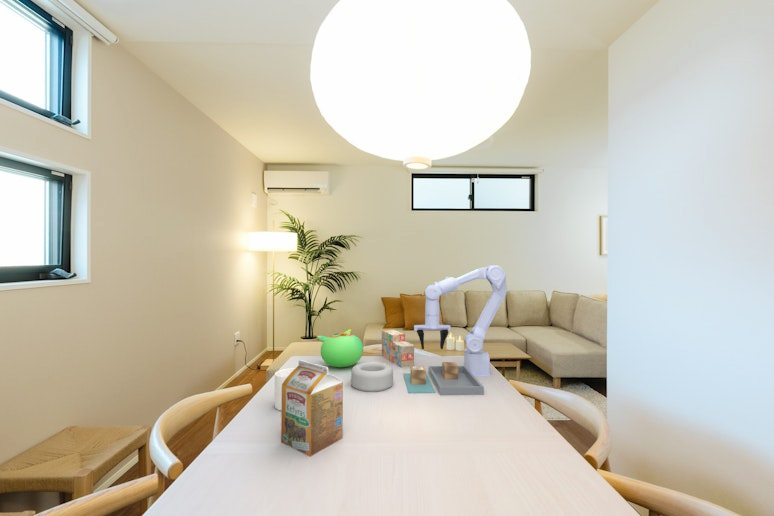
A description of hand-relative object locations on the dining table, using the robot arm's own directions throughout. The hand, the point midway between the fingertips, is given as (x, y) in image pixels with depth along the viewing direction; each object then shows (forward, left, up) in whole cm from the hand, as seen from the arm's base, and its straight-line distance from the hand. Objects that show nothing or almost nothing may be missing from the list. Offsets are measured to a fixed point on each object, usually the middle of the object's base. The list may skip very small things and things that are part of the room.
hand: (432, 348), depth 143 cm
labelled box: (+8, +14, -9) cm, 18 cm away
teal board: (+8, +14, -9) cm, 18 cm away
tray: (-6, +14, -9) cm, 18 cm away
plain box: (-6, +8, -9) cm, 13 cm away
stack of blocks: (+13, -16, -10) cm, 23 cm away
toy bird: (+37, -9, -10) cm, 39 cm away
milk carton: (+39, +53, -10) cm, 67 cm away
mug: (+48, +33, -10) cm, 59 cm away
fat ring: (+24, +14, -10) cm, 29 cm away
